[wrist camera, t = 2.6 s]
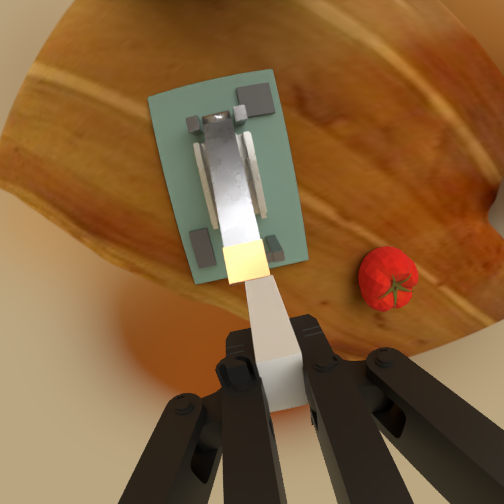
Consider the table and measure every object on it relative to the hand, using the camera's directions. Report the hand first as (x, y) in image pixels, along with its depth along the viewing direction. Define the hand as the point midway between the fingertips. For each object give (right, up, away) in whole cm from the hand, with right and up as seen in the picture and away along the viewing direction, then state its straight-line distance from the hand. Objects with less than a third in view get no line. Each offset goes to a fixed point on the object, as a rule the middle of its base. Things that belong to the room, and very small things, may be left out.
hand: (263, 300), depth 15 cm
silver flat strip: (-3, +9, +10) cm, 14 cm away
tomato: (+19, 0, +27) cm, 33 cm away
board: (-3, +12, +20) cm, 24 cm away
